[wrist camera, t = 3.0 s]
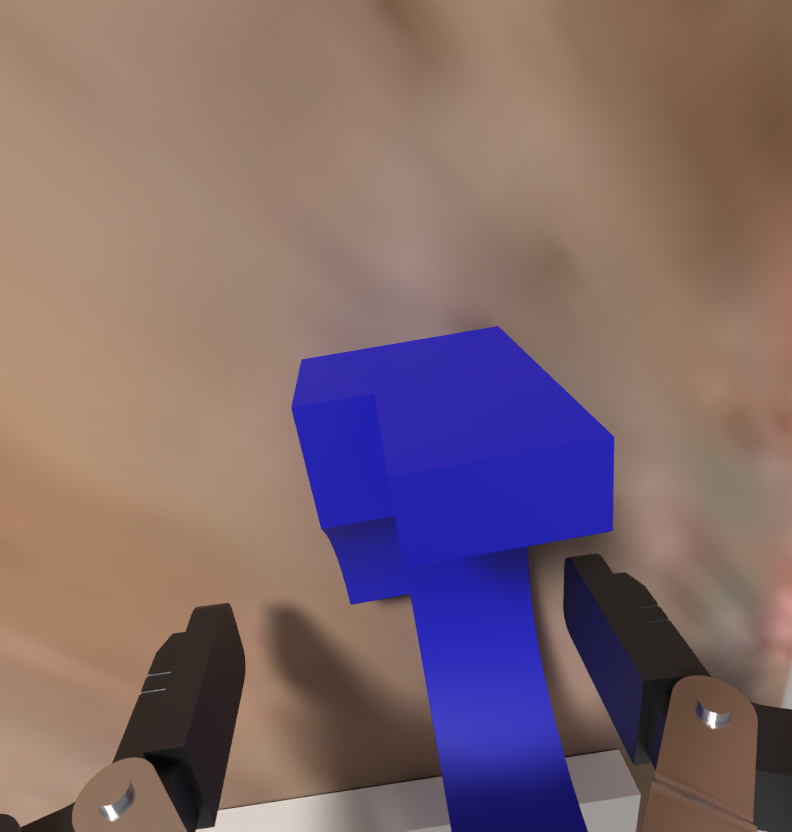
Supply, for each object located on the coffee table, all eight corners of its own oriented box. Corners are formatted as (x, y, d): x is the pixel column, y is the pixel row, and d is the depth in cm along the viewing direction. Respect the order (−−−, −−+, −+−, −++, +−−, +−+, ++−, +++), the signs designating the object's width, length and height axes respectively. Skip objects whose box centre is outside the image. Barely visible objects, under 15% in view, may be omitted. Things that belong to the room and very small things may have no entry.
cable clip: (302, 357, 13) (272, 497, 7) (495, 324, 13) (613, 436, 7) (383, 715, 17) (403, 962, 12) (523, 689, 18) (605, 922, 12)
